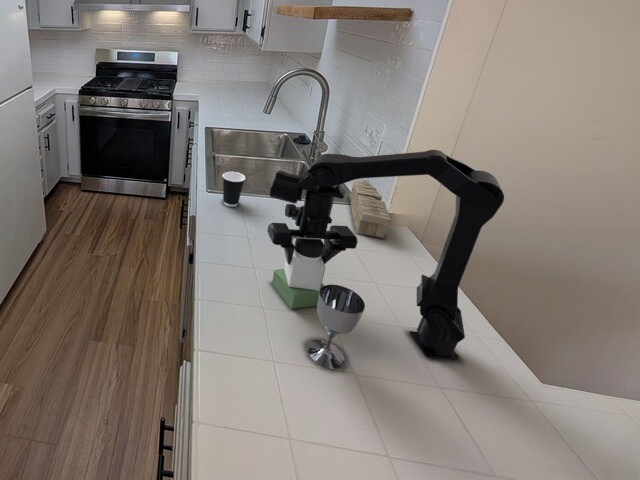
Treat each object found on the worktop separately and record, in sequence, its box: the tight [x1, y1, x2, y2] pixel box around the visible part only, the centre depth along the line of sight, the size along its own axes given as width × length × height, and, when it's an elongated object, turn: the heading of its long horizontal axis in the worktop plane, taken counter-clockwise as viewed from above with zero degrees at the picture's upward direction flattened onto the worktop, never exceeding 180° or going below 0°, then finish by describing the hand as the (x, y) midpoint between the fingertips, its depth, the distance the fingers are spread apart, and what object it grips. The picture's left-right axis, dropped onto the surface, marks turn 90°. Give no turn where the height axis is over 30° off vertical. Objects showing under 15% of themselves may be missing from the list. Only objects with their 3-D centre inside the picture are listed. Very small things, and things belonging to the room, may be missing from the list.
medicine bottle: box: [283, 238, 326, 291], centre depth 93 cm, size 7×7×12 cm
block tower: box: [349, 179, 392, 239], centre depth 131 cm, size 8×8×29 cm
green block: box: [271, 268, 325, 310], centre depth 96 cm, size 9×9×4 cm
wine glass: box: [306, 284, 366, 370], centre depth 78 cm, size 8×8×15 cm
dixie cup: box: [222, 171, 246, 208], centre depth 138 cm, size 8×8×11 cm
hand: (304, 264), depth 93 cm, fingers closed on medicine bottle, 7 cm apart
